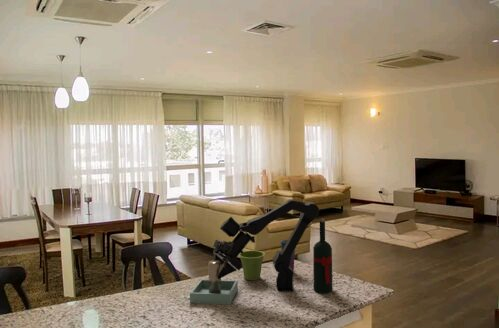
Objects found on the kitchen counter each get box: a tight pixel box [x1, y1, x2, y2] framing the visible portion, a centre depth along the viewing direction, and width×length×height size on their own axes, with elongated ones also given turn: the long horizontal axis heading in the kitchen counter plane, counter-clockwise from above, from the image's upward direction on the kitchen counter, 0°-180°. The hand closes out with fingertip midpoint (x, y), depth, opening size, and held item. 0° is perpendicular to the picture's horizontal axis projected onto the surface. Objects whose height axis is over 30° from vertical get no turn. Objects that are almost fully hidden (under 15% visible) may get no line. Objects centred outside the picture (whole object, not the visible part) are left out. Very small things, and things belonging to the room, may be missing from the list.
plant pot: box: [238, 250, 266, 281], centre depth 185 cm, size 12×12×11 cm
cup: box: [280, 239, 296, 272], centre depth 192 cm, size 7×7×15 cm
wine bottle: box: [312, 218, 333, 295], centre depth 166 cm, size 8×10×30 cm
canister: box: [207, 260, 222, 294], centre depth 164 cm, size 5×5×13 cm
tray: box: [189, 279, 239, 305], centre depth 164 cm, size 16×16×4 cm
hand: (213, 274), depth 163 cm, fingers open, 9 cm apart
